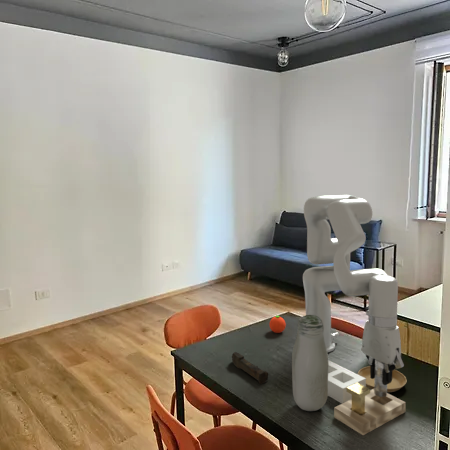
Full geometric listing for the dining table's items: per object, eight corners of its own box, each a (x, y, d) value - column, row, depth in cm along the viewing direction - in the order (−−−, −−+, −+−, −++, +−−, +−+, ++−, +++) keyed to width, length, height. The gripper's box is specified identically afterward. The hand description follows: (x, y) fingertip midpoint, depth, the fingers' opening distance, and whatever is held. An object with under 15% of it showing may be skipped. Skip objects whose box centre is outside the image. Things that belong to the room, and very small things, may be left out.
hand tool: (269, 382, 141) (268, 368, 141) (259, 385, 139) (258, 372, 139) (239, 360, 158) (238, 348, 157) (229, 363, 156) (229, 351, 155)
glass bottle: (306, 421, 119) (305, 325, 115) (286, 403, 128) (285, 313, 124) (335, 412, 123) (335, 318, 119) (314, 395, 132) (313, 308, 128)
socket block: (375, 396, 130) (375, 387, 129) (405, 412, 121) (405, 402, 121) (334, 417, 120) (334, 407, 120) (363, 435, 112) (363, 424, 111)
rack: (327, 373, 145) (327, 359, 144) (365, 393, 132) (365, 378, 131) (305, 382, 140) (305, 367, 139) (343, 404, 126) (343, 388, 126)
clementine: (269, 328, 186) (269, 312, 185) (285, 328, 186) (285, 312, 185) (269, 335, 178) (269, 319, 177) (286, 335, 178) (286, 319, 177)
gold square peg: (357, 413, 121) (357, 382, 120) (369, 420, 117) (370, 389, 116) (346, 418, 119) (346, 387, 117) (359, 426, 115) (359, 394, 114)
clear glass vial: (379, 388, 126) (380, 353, 124) (389, 394, 123) (390, 358, 121) (371, 392, 124) (372, 357, 122) (381, 398, 121) (382, 361, 119)
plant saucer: (409, 379, 140) (409, 371, 139) (402, 401, 127) (402, 393, 127) (363, 369, 147) (363, 362, 147) (352, 389, 135) (352, 381, 134)
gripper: (350, 314, 125) (349, 372, 127) (400, 332, 111) (398, 397, 114) (367, 308, 129) (366, 365, 131) (417, 325, 115) (415, 388, 118)
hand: (380, 379), depth 123 cm, fingers closed on clear glass vial, 3 cm apart
